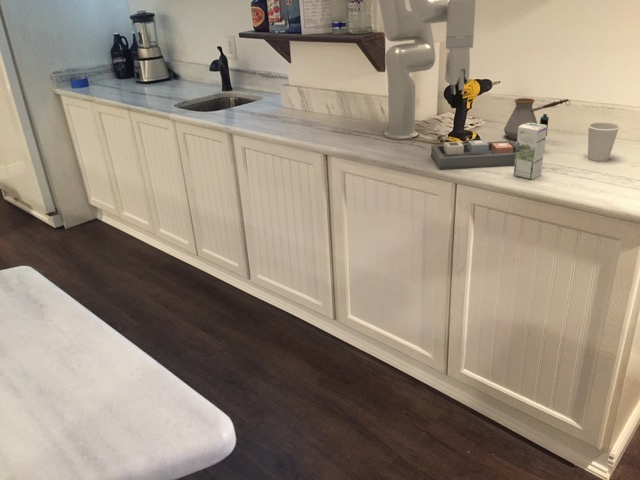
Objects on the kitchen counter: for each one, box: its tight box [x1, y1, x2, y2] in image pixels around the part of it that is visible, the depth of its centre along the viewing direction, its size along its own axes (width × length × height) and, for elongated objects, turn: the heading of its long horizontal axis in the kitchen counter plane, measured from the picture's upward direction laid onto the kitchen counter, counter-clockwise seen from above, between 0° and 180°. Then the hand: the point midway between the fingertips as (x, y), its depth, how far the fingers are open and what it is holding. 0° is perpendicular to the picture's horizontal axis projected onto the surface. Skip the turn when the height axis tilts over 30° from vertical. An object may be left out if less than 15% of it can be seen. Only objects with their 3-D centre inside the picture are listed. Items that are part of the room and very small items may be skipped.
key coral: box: [491, 143, 513, 154], centre depth 166 cm, size 5×5×2 cm
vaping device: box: [539, 113, 549, 148], centre depth 169 cm, size 3×5×12 cm, turn 53°
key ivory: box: [443, 141, 464, 155], centre depth 166 cm, size 5×5×2 cm
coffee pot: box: [503, 97, 571, 141], centre depth 179 cm, size 21×12×15 cm, turn 38°
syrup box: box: [513, 123, 548, 181], centre depth 150 cm, size 6×6×14 cm
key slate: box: [467, 139, 489, 153], centre depth 166 cm, size 5×5×2 cm
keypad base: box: [430, 140, 517, 171], centre depth 167 cm, size 14×26×4 cm, turn 90°
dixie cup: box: [587, 121, 621, 162], centre depth 160 cm, size 8×8×10 cm
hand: (456, 107), depth 160 cm, fingers closed
